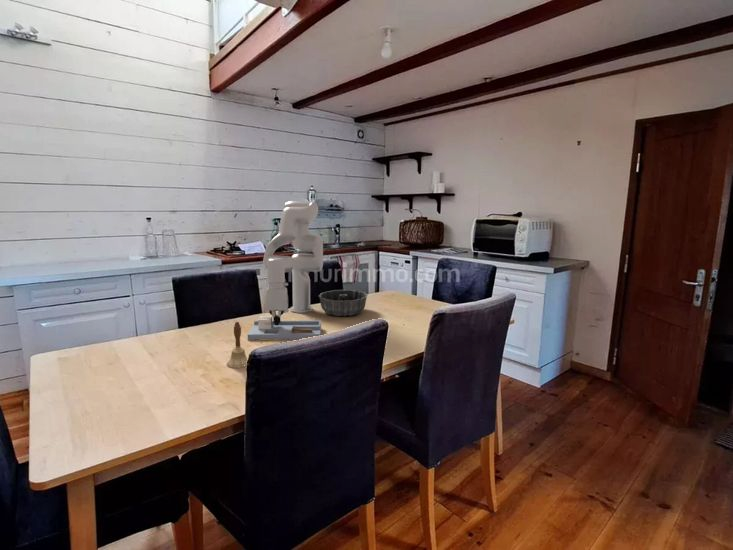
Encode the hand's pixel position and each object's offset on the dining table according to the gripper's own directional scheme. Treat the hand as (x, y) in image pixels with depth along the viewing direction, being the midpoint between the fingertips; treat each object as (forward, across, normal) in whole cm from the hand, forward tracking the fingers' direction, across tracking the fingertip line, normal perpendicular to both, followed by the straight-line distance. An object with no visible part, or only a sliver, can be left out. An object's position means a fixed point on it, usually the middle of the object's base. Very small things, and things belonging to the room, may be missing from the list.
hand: (277, 324), depth 179 cm
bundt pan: (+4, -31, -33) cm, 45 cm away
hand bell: (+4, +9, +35) cm, 37 cm away
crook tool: (+1, -12, +8) cm, 14 cm away
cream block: (+1, +5, +1) cm, 5 cm away
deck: (+4, -4, +3) cm, 7 cm away
